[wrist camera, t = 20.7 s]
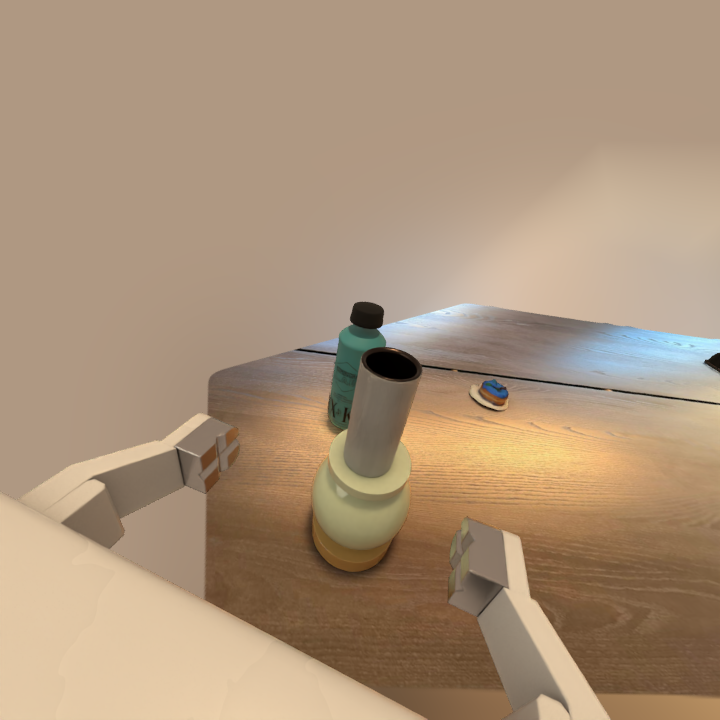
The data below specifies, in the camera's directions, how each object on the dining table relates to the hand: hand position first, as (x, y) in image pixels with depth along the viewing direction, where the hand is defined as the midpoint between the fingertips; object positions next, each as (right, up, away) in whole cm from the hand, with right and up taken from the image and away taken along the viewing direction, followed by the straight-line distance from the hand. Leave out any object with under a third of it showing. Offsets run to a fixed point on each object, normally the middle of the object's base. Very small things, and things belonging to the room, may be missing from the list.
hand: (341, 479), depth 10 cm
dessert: (+26, -4, +49) cm, 55 cm away
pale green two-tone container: (0, -15, +23) cm, 27 cm away
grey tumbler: (+1, -5, +17) cm, 18 cm away
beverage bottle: (-1, -6, +37) cm, 37 cm away
